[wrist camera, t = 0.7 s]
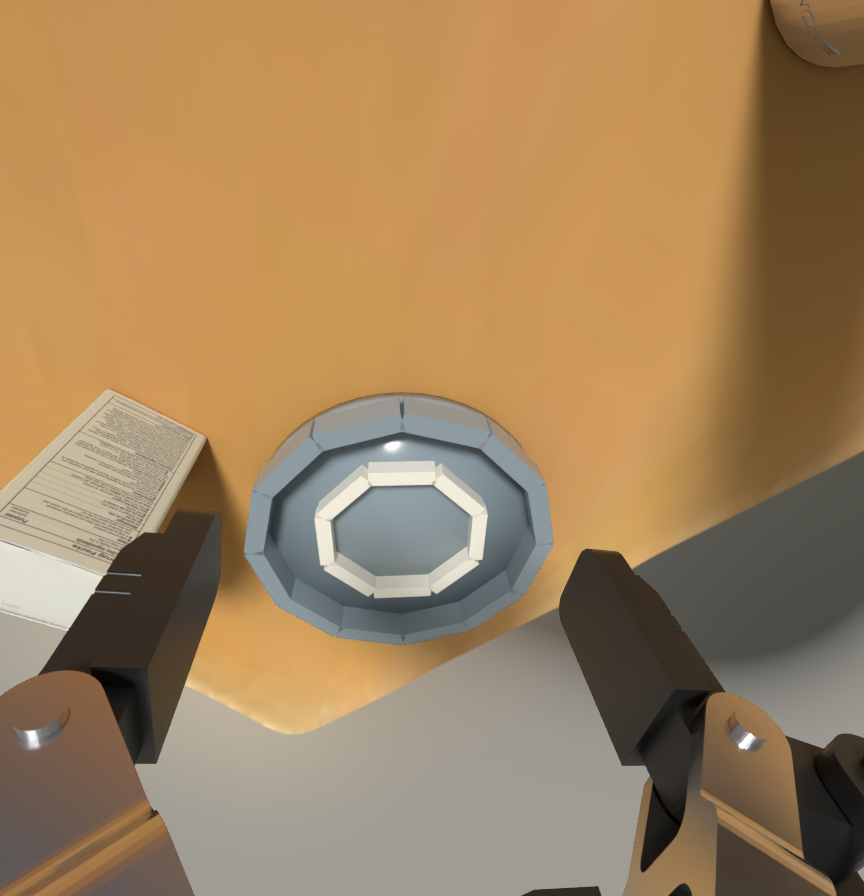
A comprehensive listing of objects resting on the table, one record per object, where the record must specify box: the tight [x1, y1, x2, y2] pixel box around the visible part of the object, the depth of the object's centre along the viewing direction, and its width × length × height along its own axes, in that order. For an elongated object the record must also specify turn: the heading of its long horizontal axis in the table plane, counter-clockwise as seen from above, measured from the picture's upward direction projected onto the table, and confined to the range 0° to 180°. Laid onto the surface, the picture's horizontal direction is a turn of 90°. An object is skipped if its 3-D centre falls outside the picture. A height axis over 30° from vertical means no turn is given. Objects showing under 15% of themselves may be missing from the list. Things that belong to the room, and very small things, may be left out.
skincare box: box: [0, 389, 207, 631], centre depth 25 cm, size 6×4×12 cm
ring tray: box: [244, 393, 554, 645], centre depth 34 cm, size 20×20×3 cm
